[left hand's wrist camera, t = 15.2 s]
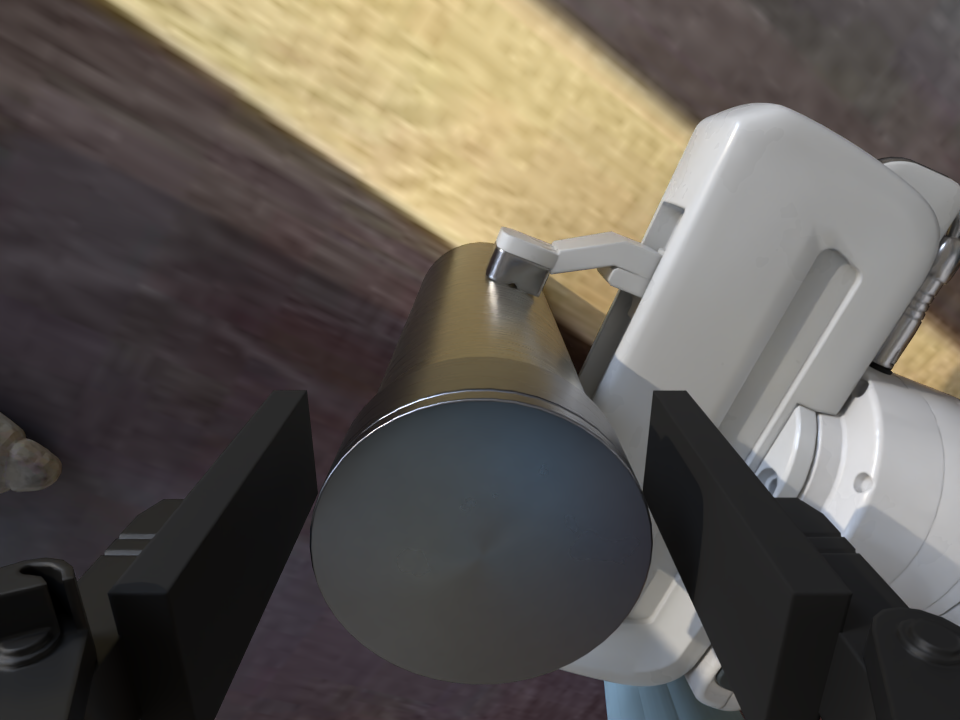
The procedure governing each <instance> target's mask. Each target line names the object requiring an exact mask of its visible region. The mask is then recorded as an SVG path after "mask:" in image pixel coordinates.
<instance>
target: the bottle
mask: <svg viewBox="0 0 960 720" xmlns="http://www.w3.org/2000/svg"><path fill="white" fill-rule="evenodd" d="M493 247H494V244H492V243H480V242H479V243H470V244H465V245H462V246H459V247H456V248H454V249H452V250H450V251H448V252H447V253H445V254H444V255H442V256H441V257H440V258H439V259H438V260H437V261H436V262H435V263H434V264H433V265H432V266H431V268H430V269H429V271H428V272H427V274H426V276H425V278H424V280H423V282H422V285H421V287H420V290H419V292H418V295H417V297H416V300H415V302H414V304H413V307H412V309H411V312H410V314H409V317H408V319H407V322H406V324H405V327H404V329H403V331H402V334H401V336H400V339H399V341H398V344H397V346H396V349H395V351H394V354H393V356H392V358H391V361H390V363H389V366H388V368H387V371H386V373H385V376H384V378H383V381H382V383H381V385H380V388H379V390H378V393H379V392H380V391H382V390H383V389H384V388H386V387H387V386H388V385H390V384H391V383H392V382H394V381H396V380H397V379H399V378H401V377H403V376H404V375H406V374H408V373H410V372H412V371H415V370H417V369H420V368H422V367H424V366H427V365H430V364H434V363H437V362H441V361H445V360H449V359H456V358H464V357H498V358H507V359H513V360H517V361H521V362H525V363H530V364H532V365H535V366H538V367H540V368H543V369H546V370H548V371H550V372H552V373H554V374H556V375H558V376H560V377H562V378H564V379H565V380H567V381H568V382H570V383H571V384H573V385H574V386H575V387H577V388H578V389H580V390H581V391H582V392H583V393H584V394H585V392H584V390H583V387H582V385H581V382H580V380H579V378H578V375H577V373H576V370H575V368H574V365H573V363H572V361H571V358H570V356H569V353H568V351H567V348H566V346H565V344H564V341H563V339H562V336H561V334H560V331H559V329H558V327H557V324H556V322H555V319H554V317H553V314H552V312H551V310H550V307H549V305H548V302H547V300H546V297H545V295H544V293H543V290H542V291H541V293H540V295H539V297H536V296H534V295H531V294H528V293H526V292H524V291H522V290H520V289H518V288H517V286H516V285H515V283H511V284H504V283H501V282H497V281H495V280H493V279H491V278H489V277H488V276H487V275H486V270H485V269H486V266H487V263H488V260H489V258H490V255H491V252H492V249H493ZM378 393H377V394H378Z"/></svg>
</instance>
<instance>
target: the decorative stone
mask: <svg viewBox="0 0 960 720" xmlns="http://www.w3.org/2000/svg"><path fill="white" fill-rule="evenodd" d="M61 470H62V463H61V461H60V460H59V459H58V457H57V456H55V455H54V454H52V453H51V452H50V451H49V450H48V449H47V448H45V447H43V446H42V445H40V444H39V443H37V442H35V441H33V440H30V439H27V438H26V435H25V432H24V431H23V429H21V428H20V427H19V426H18V425H16V424H15V423H14V422H13V421H11V420H10V419H9V418H7V417H6V416H5V415H3V414H2V413H1V412H0V494H1V493H4V492H6V491H8V490H10V489H11V490H12V491H16V492H25V491H37V490H42V489H45V488H47V487H49V486H50V485H52V484H53V483H54V482H56V481H57V479H58V477H59V476H60V474H61Z"/></svg>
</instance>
